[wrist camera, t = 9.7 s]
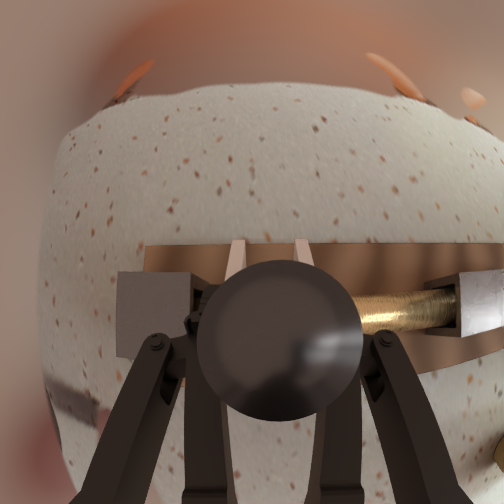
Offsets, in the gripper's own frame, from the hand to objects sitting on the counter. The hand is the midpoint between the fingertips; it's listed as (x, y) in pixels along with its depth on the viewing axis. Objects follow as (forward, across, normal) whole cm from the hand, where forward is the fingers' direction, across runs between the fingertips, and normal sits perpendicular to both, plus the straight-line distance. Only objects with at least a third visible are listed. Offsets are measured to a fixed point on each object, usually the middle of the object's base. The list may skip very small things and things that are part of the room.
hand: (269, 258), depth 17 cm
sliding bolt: (+2, +4, -8) cm, 9 cm away
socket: (+3, -8, -9) cm, 13 cm away
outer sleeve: (+3, +24, -9) cm, 26 cm away
